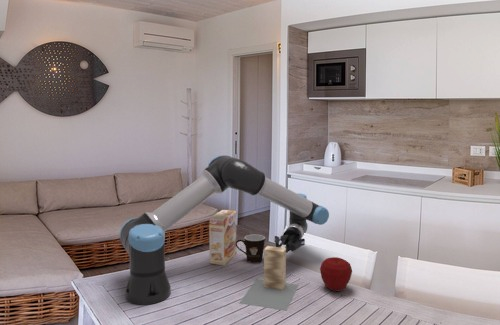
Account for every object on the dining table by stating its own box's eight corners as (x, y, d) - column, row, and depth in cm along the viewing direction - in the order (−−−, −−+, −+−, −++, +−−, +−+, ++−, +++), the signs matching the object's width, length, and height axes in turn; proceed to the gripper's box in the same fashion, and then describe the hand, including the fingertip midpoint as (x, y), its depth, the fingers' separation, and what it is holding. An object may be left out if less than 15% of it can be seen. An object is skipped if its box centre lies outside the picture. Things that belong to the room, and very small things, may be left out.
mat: (238, 304, 134) (238, 303, 134) (256, 280, 153) (256, 279, 153) (286, 311, 129) (286, 310, 129) (298, 285, 148) (298, 284, 148)
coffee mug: (268, 259, 174) (268, 236, 173) (258, 265, 167) (258, 242, 166) (245, 254, 180) (245, 232, 179) (234, 260, 173) (234, 237, 172)
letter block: (263, 287, 146) (264, 249, 144) (266, 282, 150) (267, 245, 148) (282, 289, 144) (283, 251, 142) (285, 285, 148) (286, 247, 146)
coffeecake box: (224, 265, 167) (224, 219, 165) (208, 263, 169) (208, 217, 167) (237, 253, 181) (237, 210, 179) (222, 251, 183) (221, 209, 181)
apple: (316, 292, 143) (316, 260, 142) (324, 280, 153) (324, 250, 151) (347, 298, 138) (349, 265, 137) (354, 286, 148) (355, 255, 147)
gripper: (308, 245, 173) (297, 265, 151) (278, 242, 177) (263, 261, 155) (308, 227, 172) (297, 246, 150) (278, 225, 176) (263, 242, 154)
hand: (280, 253), depth 153 cm, fingers closed
